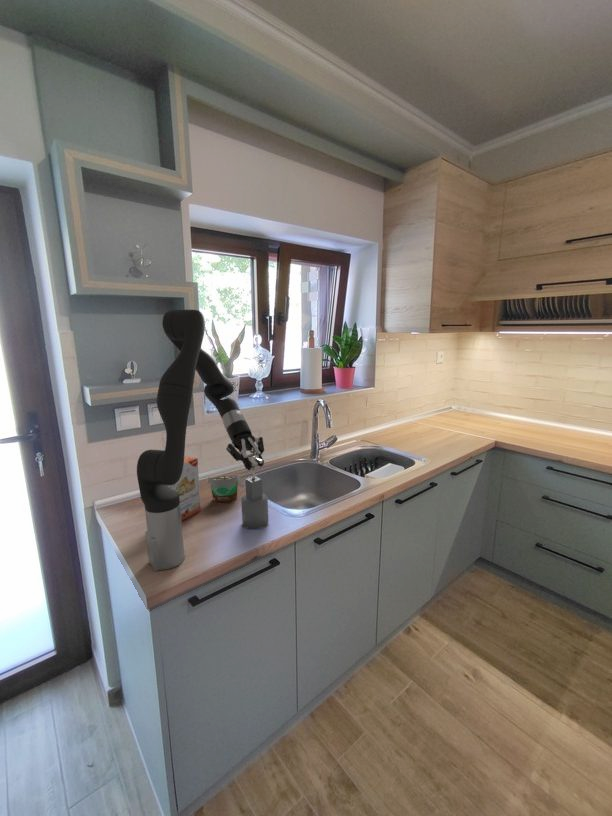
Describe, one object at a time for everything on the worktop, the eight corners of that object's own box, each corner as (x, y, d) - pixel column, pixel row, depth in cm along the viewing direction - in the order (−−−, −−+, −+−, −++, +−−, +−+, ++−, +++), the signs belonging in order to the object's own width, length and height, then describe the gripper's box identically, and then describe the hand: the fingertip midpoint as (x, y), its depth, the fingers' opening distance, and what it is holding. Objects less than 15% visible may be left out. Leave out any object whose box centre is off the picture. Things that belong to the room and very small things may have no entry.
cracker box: (172, 528, 124) (166, 469, 120) (160, 523, 127) (154, 466, 123) (202, 510, 136) (198, 457, 132) (190, 507, 139) (186, 455, 135)
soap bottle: (251, 532, 120) (249, 486, 117) (237, 521, 127) (235, 478, 124) (273, 523, 126) (272, 479, 123) (259, 513, 133) (257, 472, 130)
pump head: (257, 496, 119) (255, 461, 117) (245, 489, 125) (244, 455, 122) (267, 493, 122) (266, 458, 119) (255, 486, 127) (254, 453, 125)
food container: (209, 507, 139) (208, 482, 137) (209, 500, 144) (207, 476, 143) (242, 502, 142) (241, 478, 140) (240, 496, 148) (239, 472, 146)
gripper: (220, 422, 121) (241, 467, 114) (257, 416, 130) (278, 456, 123) (214, 435, 126) (233, 478, 119) (250, 428, 135) (269, 467, 128)
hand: (256, 467), depth 121 cm, fingers closed on pump head, 4 cm apart
